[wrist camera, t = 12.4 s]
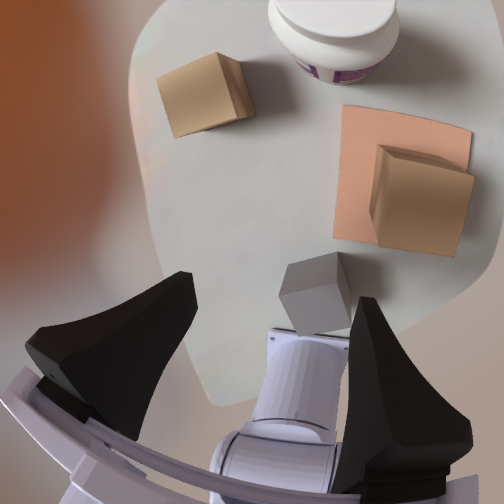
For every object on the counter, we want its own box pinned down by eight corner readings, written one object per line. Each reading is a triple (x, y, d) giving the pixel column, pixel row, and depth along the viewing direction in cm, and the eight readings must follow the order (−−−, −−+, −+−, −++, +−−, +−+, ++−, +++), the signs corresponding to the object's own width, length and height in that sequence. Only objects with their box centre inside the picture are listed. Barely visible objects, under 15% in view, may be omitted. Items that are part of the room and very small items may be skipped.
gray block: (350, 292, 21) (351, 327, 18) (305, 302, 23) (298, 336, 20) (337, 250, 20) (336, 282, 16) (288, 264, 22) (278, 295, 18)
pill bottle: (377, 20, 11) (414, -49, 3) (373, 92, 14) (420, 76, 6) (292, 8, 12) (252, -68, 4) (288, 79, 15) (242, 50, 7)
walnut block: (428, 220, 16) (453, 257, 12) (368, 211, 17) (379, 246, 13) (440, 156, 14) (474, 176, 10) (376, 144, 15) (394, 157, 11)
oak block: (255, 114, 17) (236, 117, 13) (203, 131, 18) (174, 138, 15) (239, 61, 15) (216, 52, 12) (187, 81, 16) (156, 79, 13)
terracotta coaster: (444, 249, 17) (447, 253, 16) (333, 234, 19) (333, 238, 19) (467, 130, 13) (471, 131, 12) (342, 105, 15) (342, 105, 14)
